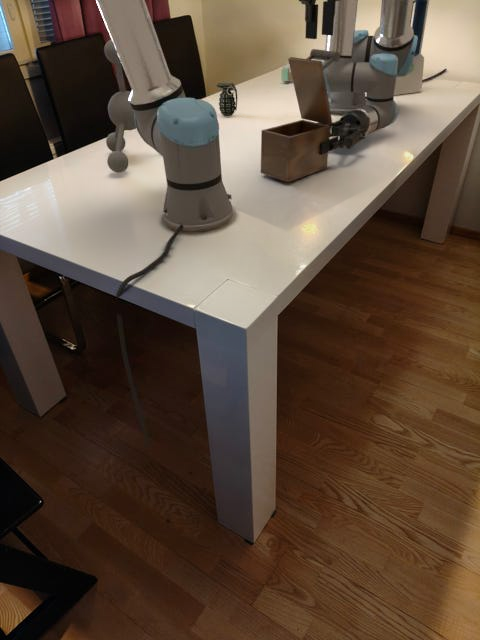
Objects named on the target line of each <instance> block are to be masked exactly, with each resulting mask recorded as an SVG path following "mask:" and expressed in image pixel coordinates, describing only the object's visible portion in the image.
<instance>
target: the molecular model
mask: <svg viewBox="0 0 480 640" xmlns="http://www.w3.org/2000/svg"><path fill="white" fill-rule="evenodd" d="M103 51H104V55H105V57H106V59H107V60H108V61H109V62H110V63H112V64H114V65H115V71H116V77H117V82H118V87H119V91H118V92H115V93H114V94H113V95H112V96H111V98H110V99H109V101H108V105H107V112H108V117H109V119H110V121H111V122H112V123H113V125H115V131H114V132H111V133H109V134H108V135H107V137H106V140H105V144H106V147H107V148H108V149H109V150H110V153H109V154H108V156H107V159H106V160H107V166H108V168H109V169H110V170H111V172H114V173H117V174H121V173H123V172H126V171H127V169H128V167H129V163H130V161H129V158H128V155H126V153H124V152H123V150H124V149H125V147H126V140H125V139H126V138H124V136H125V131H133V130H137V128H136V125H135V120H134V112H133V109H132V107H131V105H130V102H129V96H130V94H131V91H130V90H127V89H126V84H125V77H124V73H123V66H122V63H121V61H120V58H119V56H118V53H117V51H116V49H115V46H114V44H113V41H112V39H109V40H107V42H106V43H105V45H104V48H103Z"/></svg>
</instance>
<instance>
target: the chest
mask: <svg viewBox="0 0 480 640" xmlns="http://www.w3.org/2000/svg"><path fill="white" fill-rule="evenodd" d="M330 130H331V126H327V125H323V124H319V123H318V122H315V121H311V120H306V119H300V120H296V121H292V122H288V123H284V124H281V125H277V126H272V127H268V128H264V129H261V135H260V136H261V137H260V138H261V140H260V174H262V175H264V176H269V177H271V178H274V179H277V180H280V181H283V182H285V183H290V182H293V181H295V180H298V179H301V178H304V177H307V176H309V175H312V174H315V173H317V172H320V171H323V170H326V169H327V167H328V160H329V159H328V158H329V152H327V153H325V154H322V155H320V154H319V150H320V143H322V142H324V141H327V140H329V139H331V137H330Z"/></svg>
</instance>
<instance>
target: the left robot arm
mask: <svg viewBox="0 0 480 640" xmlns="http://www.w3.org/2000/svg"><path fill="white" fill-rule="evenodd" d="M95 1H96V4H97V6H98V9H99V11H100V14H101V17H102V19H103V21H104V25H105V27H106V29H107V31H108V33H109V36H110V38H111V39H112V41H113V44H114V46H115V49H116V51H117V53H118V56H119V58H120V61H121V66H122V69H123V71H124V73H125V76H126V78H127V81H128V83H129V86H130V88H131V91H130V92H131V94H130V96H129V102H130V105H131V107H132V109H133V112H134V120H135V125H136V131H137V133H138V135H139V136H140V138H141V139H142V141H143V142H144V143H146V144H147V146H149V147H151V148H152V149H153V150H154V151H155V152H157V153H158V154H159V155H160V156H161V157H162V159H163V168H164V173H165V180H166V190H165V191H166V192H165V196H164V203H163V207H162V218H163V222H164V224H165V226H167V227H168V228H169V229H171V230H173V231H174V232H173V234H171V237H170V238H169V240H167V242H166V245H165V248H164V250H163V252H162V253H161V255H160V256H159V257H157V258H156V259H155V260H154V261H153V262H151V263H150V264H149V265H147V266H146V267H144V268H143V269H142V270H140V271H138V272H135V273H132V274H131V275H129V276H127V277H126V278H125V279H124V280H123V281H122V282H121V283H120V285H119V287H118V289H117V291H116V294H115V297H116V298H120V297H121V296H122V293H123V291H124V289H125V287H126V286H127V285H128V284H129V283H130V282H132V281H133V280H135V279H137V278H140V277H142V276H144V275H145V274H147V273H148V272H150V271H151V270H152V269H153V268H155V267H156V266H157V265H158V264H160V263H161V262H162V261H163V260H164V259H165V257H166V256H167V255H168V253H169V251H170V249H171V246H172V244H173V242H175V241H174V240H175V239H176V238H177V237H178V235H179V234H180V233H190V234H191V233H192V234H193V233H194V234H195V233H196V234H197V233H205V232H206V233H207V232H210V231H215V230H216V229H220V228H222V227H224V226H226V225H227V224H228V223H230V221H231V220H232V218H233V216H234V212H233V211H234V210H233V205H232V201H231V200H233V199H232V198H233V197H232V194H229V193H228V192H227V190H226V187H225V184H224V182H223V175H222V174H223V173H222V161H221V159H222V158H221V145H220V124H219V120H218V114H217V111H216V109H215V107H214V105H212V104H211V103H210V102H209V101H207V100H203V99H200V98H198V99H196V98H195V97H186V94H185V91H184V88H183V85H182V83H181V80H180V79H179V78H177V77H176V76H173V75H172V74H171V72H170V70H169V67H168V64H167V60H166V58H165V54H164V52H163V49H162V47H161V43H160V40H159V37H158V34H157V32H156V29H155V27H154V24H153V20H152V17H151V15H150V11H149V8H148V6H147V3H146V0H95ZM336 1H339V0H324V1H322V17H321V18H322V20H321V21H322V22H321V35H322V36H327V35H330V36H331V35H333V25H334V16H335V5H336ZM298 2H300V3H301V4H302V5H304V10H305V11H304V12H305V13H304V20H305V36H304V38H305V39H309V40H317V39H318V22H319V21H318V20H319V4H317V0H298ZM111 39H110V40H111ZM122 317H123V316H122V314H118V313H116V319H117V326H118V335H119V342H120V347H121V348H120V349H121V353H122V359H123V363H124V367H125V368H124V369H125V373H126V376H127V380H128V384H129V387H130V391H131V394H132V398H133V401H134V405H135V409H136V413H137V416H138V419H139V423H140V426H141V430H142V433H143V437H144V442H145V446H146V448H147V449H150V448H151V442H150V438H149V434H148V431H147V427H146V422H145V419H144V415H143V412H142V409H141V405H140V402H139V398H138V394H137V391H136V386H135V383H134V380H133V376H132V370H131V366H130V361H129V357H128V353H127V346H126V340H125V339H126V338H125V333H124V325H123V318H122Z"/></svg>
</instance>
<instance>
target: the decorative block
mask: <svg viewBox="0 0 480 640" xmlns="http://www.w3.org/2000/svg"><path fill="white" fill-rule="evenodd" d="M311 60H316V59H311ZM317 61H322V62H324V60H317ZM281 81H282V82H283V81H284V82H292V83H293V78H292V74H291V69H290V65H289V61H287V62H286V65H283V67H281Z"/></svg>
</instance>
